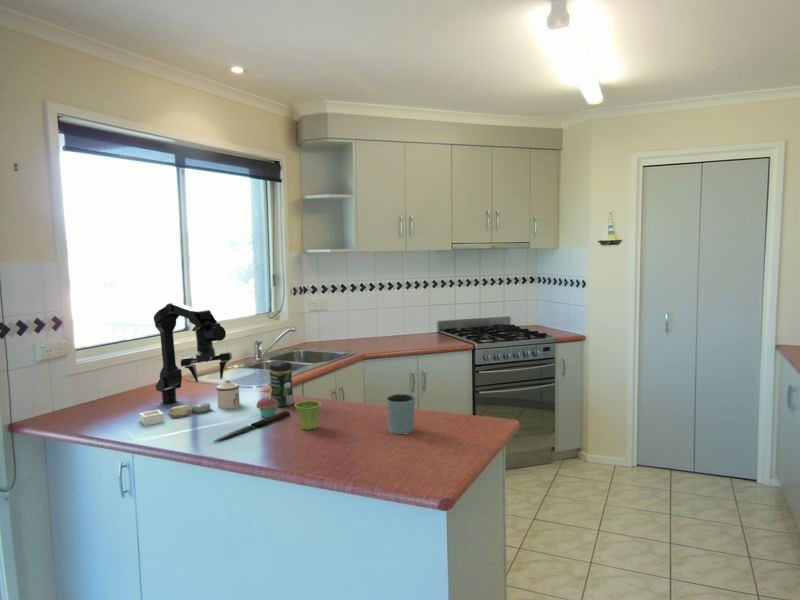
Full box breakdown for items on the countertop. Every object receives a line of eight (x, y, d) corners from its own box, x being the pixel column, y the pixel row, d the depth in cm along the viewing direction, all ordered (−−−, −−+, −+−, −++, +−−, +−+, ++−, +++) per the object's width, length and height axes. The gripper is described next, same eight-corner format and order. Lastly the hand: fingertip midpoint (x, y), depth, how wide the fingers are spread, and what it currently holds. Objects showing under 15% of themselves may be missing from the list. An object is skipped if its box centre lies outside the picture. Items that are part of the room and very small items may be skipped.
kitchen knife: (280, 409, 219) (289, 411, 217) (280, 415, 219) (290, 417, 217) (207, 437, 189) (218, 439, 186) (208, 443, 189) (218, 445, 186)
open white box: (139, 423, 212) (139, 412, 211) (159, 419, 216) (158, 409, 215) (144, 427, 206) (143, 417, 206) (164, 423, 210) (163, 413, 210)
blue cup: (412, 425, 202) (411, 392, 201) (418, 434, 192) (418, 400, 191) (384, 427, 200) (383, 395, 199) (390, 437, 190) (389, 402, 189)
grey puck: (189, 410, 224) (188, 404, 224) (206, 407, 229) (206, 401, 229) (194, 414, 219) (194, 408, 219) (213, 410, 223) (212, 405, 223)
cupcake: (283, 413, 220) (282, 383, 219) (270, 419, 212) (269, 388, 211) (266, 411, 223) (265, 382, 222) (252, 417, 216) (251, 387, 215)
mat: (166, 415, 221) (166, 413, 221) (206, 408, 230) (206, 406, 230) (173, 421, 213) (173, 419, 213) (215, 413, 222) (215, 411, 222)
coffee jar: (267, 404, 233) (265, 360, 232) (282, 400, 239) (280, 357, 238) (281, 408, 227) (279, 363, 225) (296, 404, 233) (295, 360, 231)
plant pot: (326, 424, 205) (325, 401, 204) (314, 432, 196) (313, 408, 195) (303, 422, 208) (302, 399, 207) (290, 430, 199) (290, 406, 198)
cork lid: (168, 414, 220) (167, 407, 219) (186, 410, 224) (186, 404, 224) (173, 418, 214) (173, 411, 214) (192, 414, 218) (192, 408, 218)
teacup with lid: (238, 409, 227) (237, 381, 225) (215, 411, 225) (213, 383, 224) (242, 402, 238) (241, 375, 237) (220, 403, 237) (219, 376, 236)
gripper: (174, 346, 211) (180, 387, 211) (225, 340, 214) (230, 380, 214) (181, 344, 222) (186, 382, 222) (229, 338, 225) (234, 376, 225)
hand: (209, 380), depth 221 cm, fingers open, 9 cm apart
